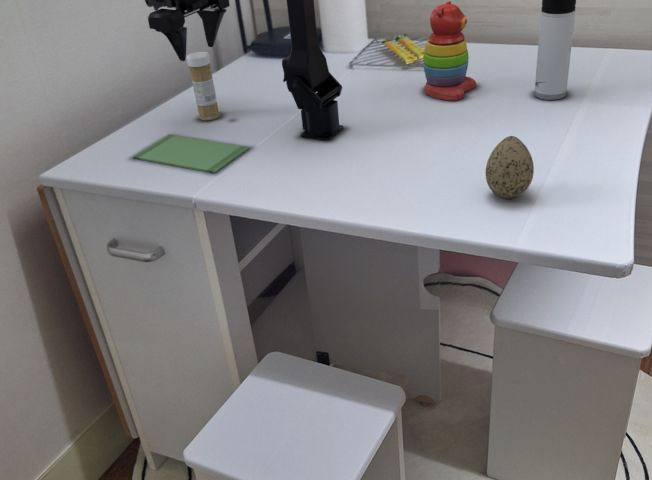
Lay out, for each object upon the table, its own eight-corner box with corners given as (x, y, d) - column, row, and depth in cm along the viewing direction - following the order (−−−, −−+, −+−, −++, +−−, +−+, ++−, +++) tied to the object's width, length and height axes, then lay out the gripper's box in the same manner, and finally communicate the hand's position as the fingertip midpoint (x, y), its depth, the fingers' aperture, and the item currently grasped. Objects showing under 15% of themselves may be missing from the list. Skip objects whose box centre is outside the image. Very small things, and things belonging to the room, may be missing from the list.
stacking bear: (459, 102, 142) (460, 12, 132) (414, 96, 147) (413, 9, 137) (479, 84, 150) (482, -2, 140) (436, 80, 155) (435, -4, 144)
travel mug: (531, 100, 140) (540, -4, 128) (536, 88, 145) (545, -13, 133) (564, 101, 138) (575, -4, 126) (567, 90, 143) (579, -13, 131)
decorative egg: (477, 190, 111) (479, 132, 105) (518, 182, 112) (522, 124, 106) (496, 210, 105) (499, 150, 100) (539, 202, 106) (545, 141, 100)
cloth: (249, 148, 133) (248, 146, 133) (214, 173, 125) (214, 171, 125) (169, 136, 142) (168, 134, 141) (132, 158, 134) (132, 156, 134)
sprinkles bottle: (217, 111, 151) (205, 49, 143) (222, 118, 147) (210, 55, 140) (197, 116, 150) (184, 53, 142) (201, 123, 146) (188, 59, 138)
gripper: (181, -42, 141) (194, 36, 151) (117, -20, 128) (136, 63, 138) (225, -39, 137) (236, 41, 146) (164, -16, 124) (179, 70, 133)
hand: (197, 53), depth 141 cm, fingers open, 9 cm apart
